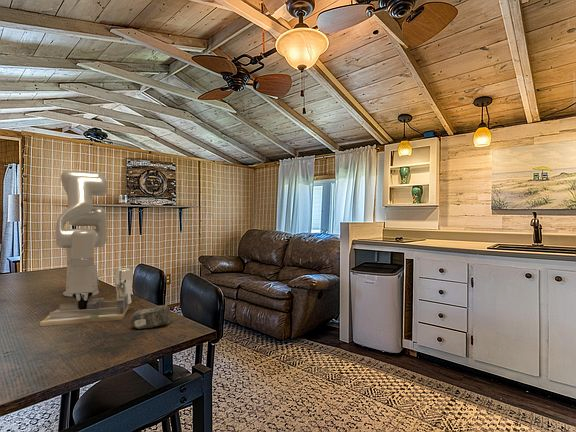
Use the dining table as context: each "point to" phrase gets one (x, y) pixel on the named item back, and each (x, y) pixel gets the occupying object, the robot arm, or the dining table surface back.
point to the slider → (96, 303)
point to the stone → (151, 317)
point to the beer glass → (124, 282)
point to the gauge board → (87, 313)
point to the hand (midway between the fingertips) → (83, 310)
